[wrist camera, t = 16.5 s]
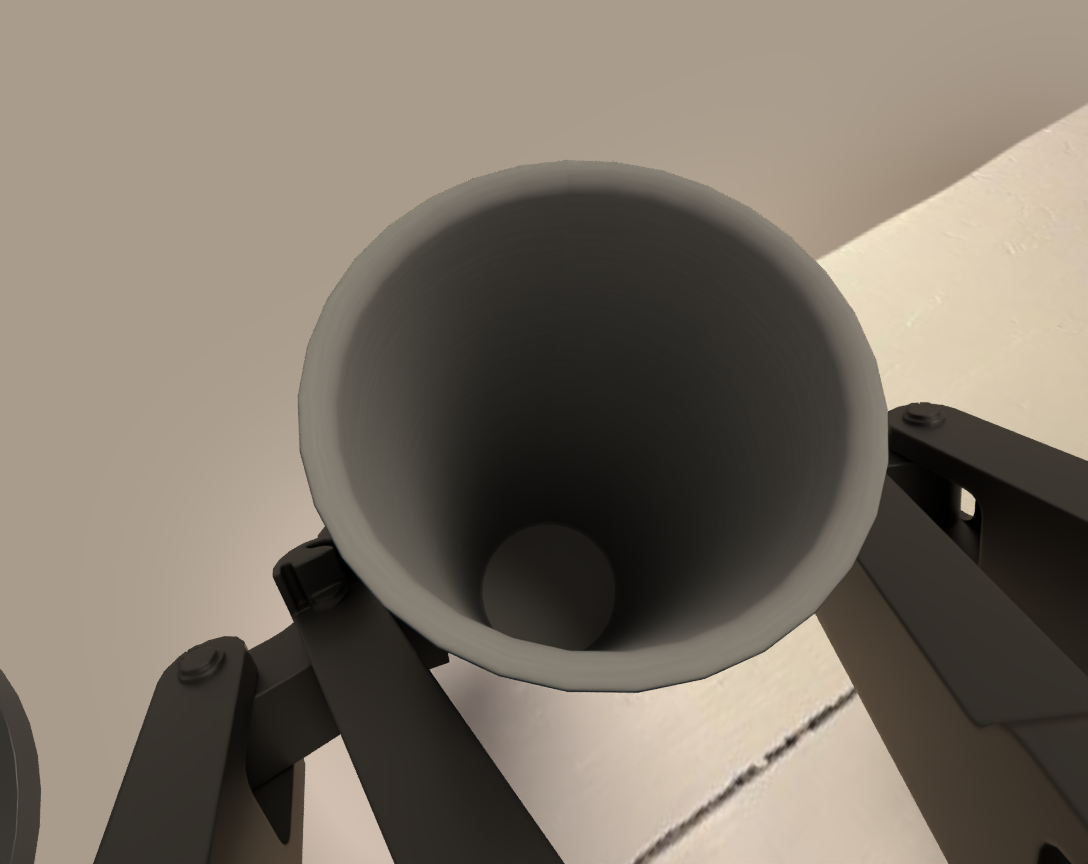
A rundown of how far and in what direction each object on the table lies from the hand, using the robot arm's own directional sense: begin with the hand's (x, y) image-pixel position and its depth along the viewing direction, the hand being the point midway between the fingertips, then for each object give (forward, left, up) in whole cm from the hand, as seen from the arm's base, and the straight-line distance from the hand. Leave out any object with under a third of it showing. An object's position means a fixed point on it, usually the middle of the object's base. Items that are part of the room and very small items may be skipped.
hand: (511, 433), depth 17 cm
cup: (0, -4, -6) cm, 7 cm away
